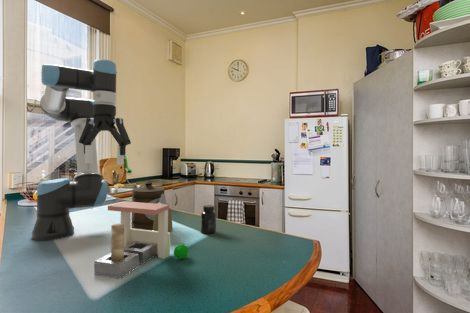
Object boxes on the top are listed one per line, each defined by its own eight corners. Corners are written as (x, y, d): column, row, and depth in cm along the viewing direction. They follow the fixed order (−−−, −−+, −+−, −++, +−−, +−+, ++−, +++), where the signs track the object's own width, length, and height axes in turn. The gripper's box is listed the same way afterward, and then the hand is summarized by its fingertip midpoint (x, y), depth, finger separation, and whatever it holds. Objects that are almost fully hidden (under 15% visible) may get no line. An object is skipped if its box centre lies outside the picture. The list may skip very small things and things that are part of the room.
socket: (94, 274, 86) (94, 261, 86) (114, 262, 95) (114, 250, 94) (120, 278, 83) (120, 265, 83) (138, 266, 92) (139, 254, 92)
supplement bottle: (198, 231, 132) (199, 205, 131) (213, 229, 134) (213, 204, 134) (203, 235, 125) (203, 208, 125) (218, 234, 128) (218, 207, 128)
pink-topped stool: (107, 259, 98) (107, 205, 97) (126, 249, 107) (126, 200, 107) (154, 265, 93) (155, 210, 92) (170, 255, 102) (170, 204, 102)
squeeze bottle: (167, 240, 118) (168, 196, 117) (149, 238, 120) (149, 195, 119) (175, 234, 126) (176, 193, 125) (158, 233, 128) (158, 192, 127)
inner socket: (118, 260, 96) (118, 248, 96) (135, 251, 105) (135, 240, 105) (142, 264, 94) (142, 251, 94) (157, 254, 103) (157, 243, 103)
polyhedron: (182, 254, 103) (182, 241, 103) (191, 258, 100) (191, 244, 100) (170, 258, 99) (170, 244, 99) (180, 262, 96) (180, 248, 96)
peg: (108, 272, 88) (108, 226, 87) (116, 267, 91) (116, 223, 91) (118, 273, 87) (118, 227, 86) (126, 268, 90) (126, 224, 90)
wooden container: (151, 233, 128) (152, 183, 127) (124, 229, 133) (124, 181, 132) (170, 225, 142) (170, 180, 141) (145, 221, 147) (145, 178, 146)
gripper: (68, 103, 104) (67, 162, 105) (128, 102, 97) (127, 165, 98) (84, 106, 111) (83, 161, 112) (141, 105, 104) (140, 164, 105)
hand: (104, 163), depth 105 cm, fingers open, 13 cm apart
